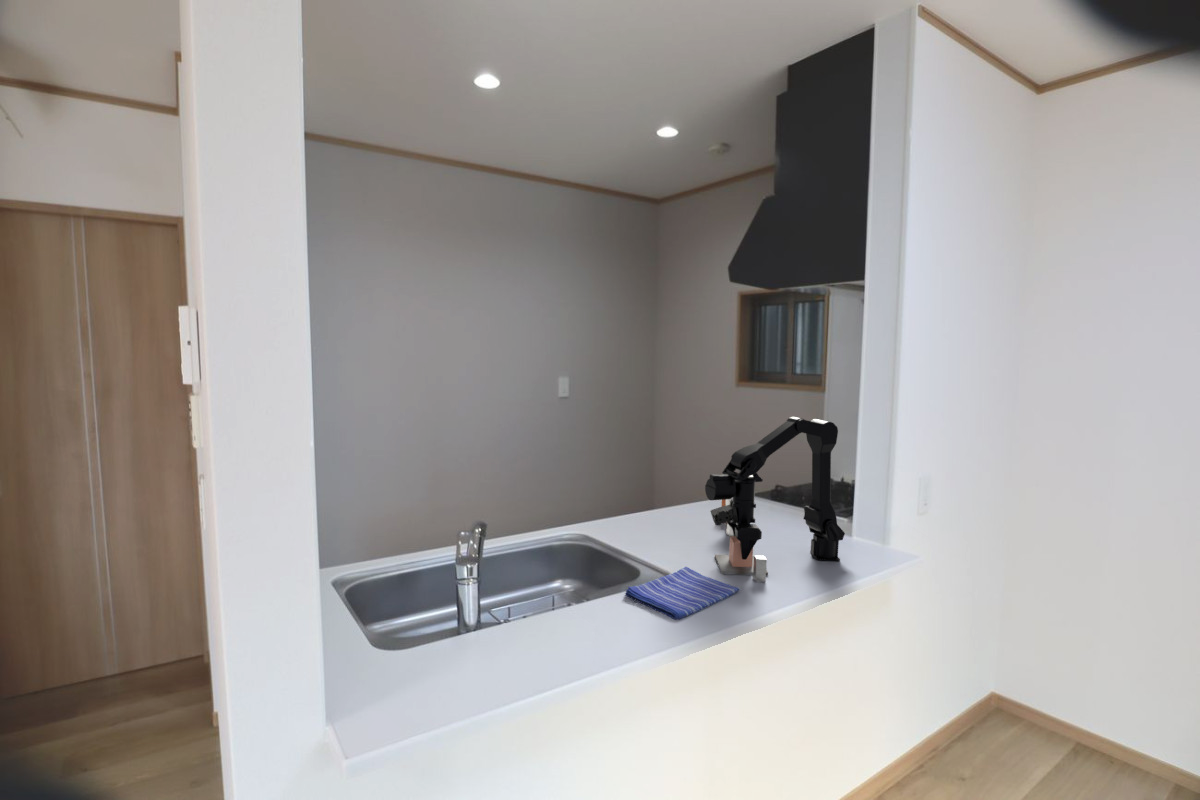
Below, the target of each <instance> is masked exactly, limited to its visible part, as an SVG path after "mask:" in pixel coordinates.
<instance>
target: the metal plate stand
mask: <svg viewBox="0 0 1200 800" xmlns="http://www.w3.org/2000/svg"><path fill="white" fill-rule="evenodd" d="M714 559H715V562H716V563H717V565H718V568H719V570H720V572H721V575H742V576H753V567H754V555H753V560H752V567H733V566H732V564H731V562H730V560H729V554H714ZM767 575H768V576H769V572H768V570H767V569H766V576H767Z"/></svg>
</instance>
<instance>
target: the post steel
mask: <svg viewBox="0 0 1200 800" xmlns="http://www.w3.org/2000/svg"><path fill="white" fill-rule="evenodd" d="M753 556H754V567H753V575H752V579H753V578H754V579H753V581H754V582H755V581H757V583H765V582H766V579H767V577H766V576H767V575H766V570H767V560H768V559H767V558H766V556H765V555H757V554H756V555H755V554H753Z"/></svg>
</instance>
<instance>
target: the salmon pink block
mask: <svg viewBox="0 0 1200 800" xmlns="http://www.w3.org/2000/svg"><path fill="white" fill-rule="evenodd" d="M728 551H729V552H728V555H729V560H730V562H731V564H732V566H733V567H752V560H753V556H754V548H753V549H752V550H751V552H750V554H749V556H748V557H747V559H746V560H744V559H742V555H741V547H740V541H739V540H738V539H737V538H736V537H734V536H729V550H728Z"/></svg>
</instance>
